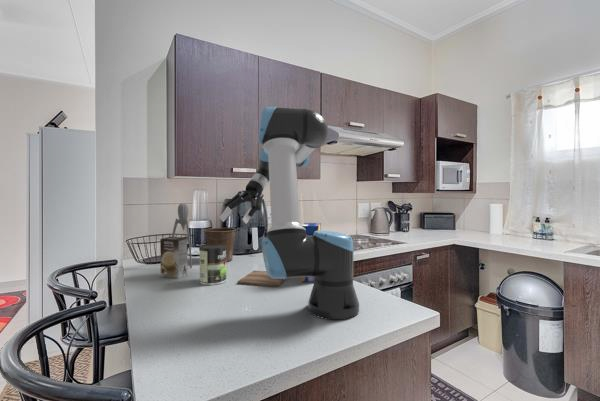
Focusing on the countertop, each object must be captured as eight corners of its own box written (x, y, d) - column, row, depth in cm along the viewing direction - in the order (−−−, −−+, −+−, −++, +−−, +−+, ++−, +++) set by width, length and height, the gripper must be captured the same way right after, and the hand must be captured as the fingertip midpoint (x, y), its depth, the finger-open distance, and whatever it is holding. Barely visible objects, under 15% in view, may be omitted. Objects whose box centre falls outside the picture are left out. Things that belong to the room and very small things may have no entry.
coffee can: (230, 278, 122) (230, 244, 121) (219, 286, 112) (218, 248, 111) (207, 276, 124) (207, 243, 124) (194, 284, 114) (193, 247, 113)
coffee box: (159, 277, 124) (159, 238, 123) (170, 273, 130) (169, 236, 129) (178, 278, 121) (177, 239, 121) (188, 274, 127) (187, 237, 127)
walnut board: (277, 287, 110) (277, 284, 110) (237, 283, 114) (237, 281, 114) (289, 275, 126) (289, 272, 126) (254, 272, 130) (253, 270, 130)
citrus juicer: (191, 262, 149) (190, 202, 148) (202, 265, 143) (201, 203, 142) (168, 267, 140) (167, 203, 139) (179, 270, 134) (178, 204, 133)
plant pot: (229, 255, 165) (228, 226, 164) (242, 261, 152) (241, 229, 151) (199, 259, 155) (199, 228, 155) (210, 265, 142) (210, 232, 142)
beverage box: (301, 281, 117) (301, 225, 116) (305, 274, 127) (304, 222, 127) (318, 282, 116) (318, 226, 115) (321, 274, 126) (320, 223, 126)
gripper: (281, 191, 134) (259, 228, 122) (241, 191, 148) (217, 224, 136) (273, 179, 129) (249, 216, 117) (233, 180, 143) (208, 213, 131)
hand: (232, 220), depth 126 cm, fingers open, 13 cm apart
